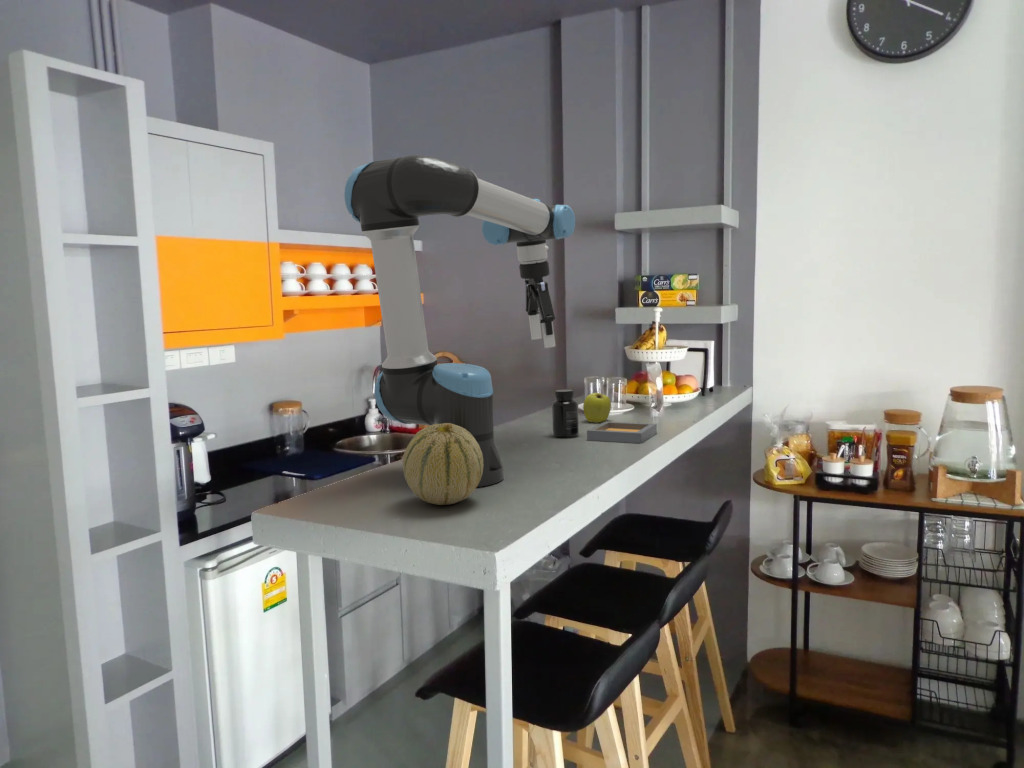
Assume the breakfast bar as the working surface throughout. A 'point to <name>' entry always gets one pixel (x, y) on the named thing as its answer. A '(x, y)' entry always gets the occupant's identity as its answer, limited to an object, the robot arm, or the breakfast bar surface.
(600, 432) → the grey square tray
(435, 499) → the cantaloupe
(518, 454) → the breakfast bar surface
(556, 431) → the supplement bottle
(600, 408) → the apple
